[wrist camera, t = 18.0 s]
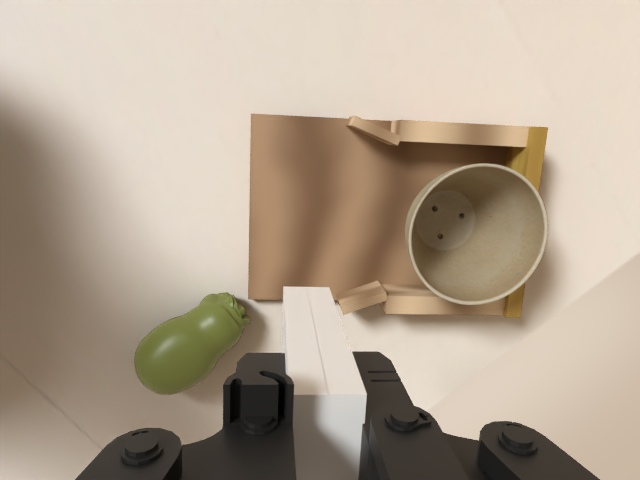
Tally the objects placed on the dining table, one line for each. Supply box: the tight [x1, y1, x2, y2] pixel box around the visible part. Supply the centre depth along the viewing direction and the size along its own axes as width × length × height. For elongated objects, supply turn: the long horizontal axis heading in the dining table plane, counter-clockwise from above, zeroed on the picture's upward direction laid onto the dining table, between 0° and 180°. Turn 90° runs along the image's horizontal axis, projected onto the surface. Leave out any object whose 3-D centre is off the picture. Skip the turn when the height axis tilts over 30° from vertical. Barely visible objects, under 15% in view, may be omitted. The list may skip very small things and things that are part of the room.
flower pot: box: [405, 163, 548, 305], centre depth 36 cm, size 10×10×7 cm
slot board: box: [248, 114, 548, 318], centre depth 38 cm, size 22×15×4 cm
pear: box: [134, 293, 252, 395], centre depth 39 cm, size 6×5×10 cm
